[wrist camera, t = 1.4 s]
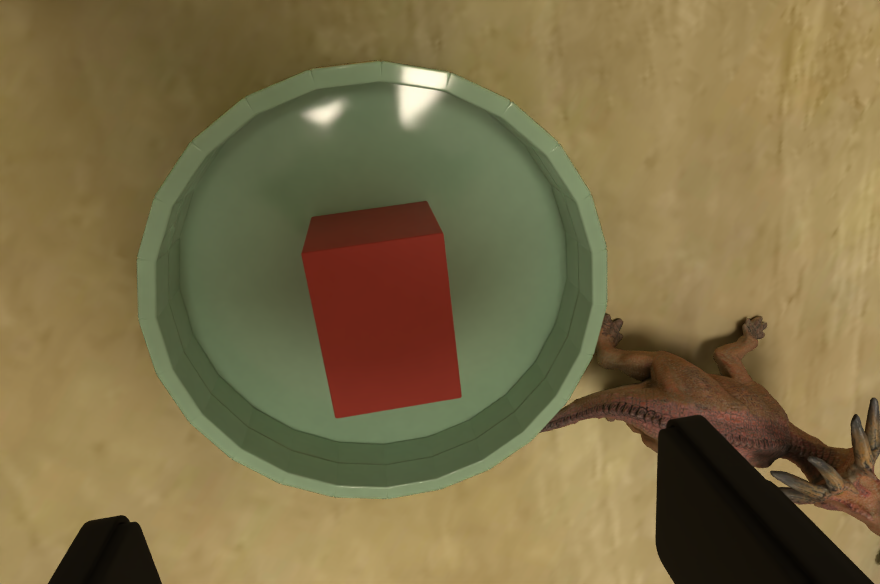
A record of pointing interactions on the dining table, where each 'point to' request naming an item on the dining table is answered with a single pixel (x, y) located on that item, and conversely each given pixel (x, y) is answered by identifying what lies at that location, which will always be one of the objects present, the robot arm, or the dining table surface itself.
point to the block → (382, 308)
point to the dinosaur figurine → (735, 420)
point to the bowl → (286, 291)
